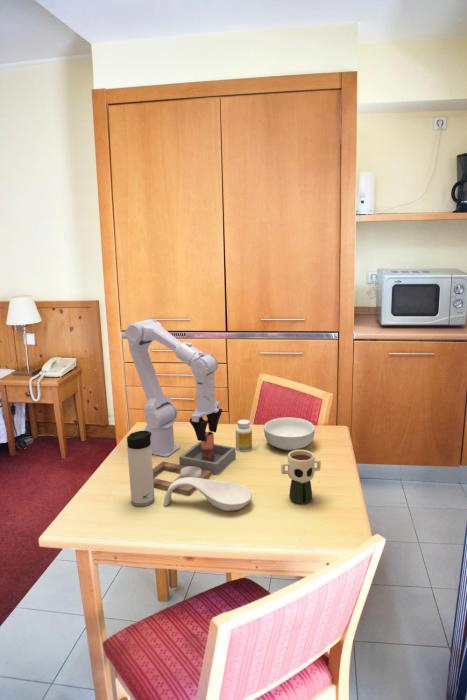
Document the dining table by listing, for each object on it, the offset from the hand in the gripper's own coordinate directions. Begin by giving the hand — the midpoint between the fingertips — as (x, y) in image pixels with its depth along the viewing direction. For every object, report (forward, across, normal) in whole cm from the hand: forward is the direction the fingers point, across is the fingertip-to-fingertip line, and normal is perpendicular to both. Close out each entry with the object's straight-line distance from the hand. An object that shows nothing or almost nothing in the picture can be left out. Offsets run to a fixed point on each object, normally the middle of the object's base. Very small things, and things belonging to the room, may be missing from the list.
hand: (207, 435), depth 167 cm
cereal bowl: (+9, +22, -19) cm, 31 cm away
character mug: (+9, -10, -34) cm, 37 cm away
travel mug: (+9, -28, +5) cm, 30 cm away
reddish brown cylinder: (+8, 0, 0) cm, 8 cm away
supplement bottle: (+9, +14, -6) cm, 18 cm away
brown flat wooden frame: (+9, -14, +3) cm, 17 cm away
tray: (+9, 0, 0) cm, 9 cm away
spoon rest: (+9, -22, -12) cm, 27 cm away
